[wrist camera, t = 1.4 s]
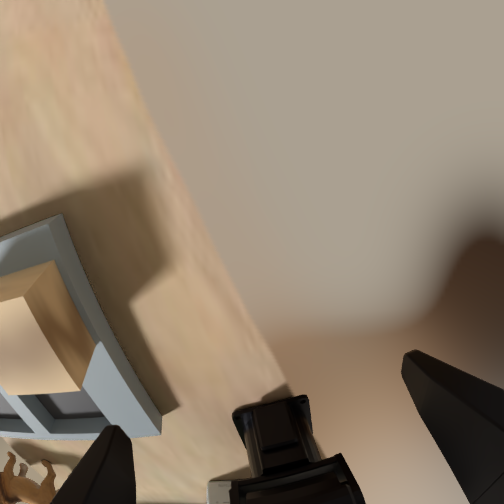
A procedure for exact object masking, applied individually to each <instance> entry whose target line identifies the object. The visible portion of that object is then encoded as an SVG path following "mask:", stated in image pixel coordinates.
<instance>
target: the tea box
mask: <svg viewBox="0 0 504 504" xmlns="http://www.w3.org/2000/svg"><path fill="white" fill-rule="evenodd" d="M230 489H231V481H210V482H208V484H207V504H230V497H229V490H230Z"/></svg>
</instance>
